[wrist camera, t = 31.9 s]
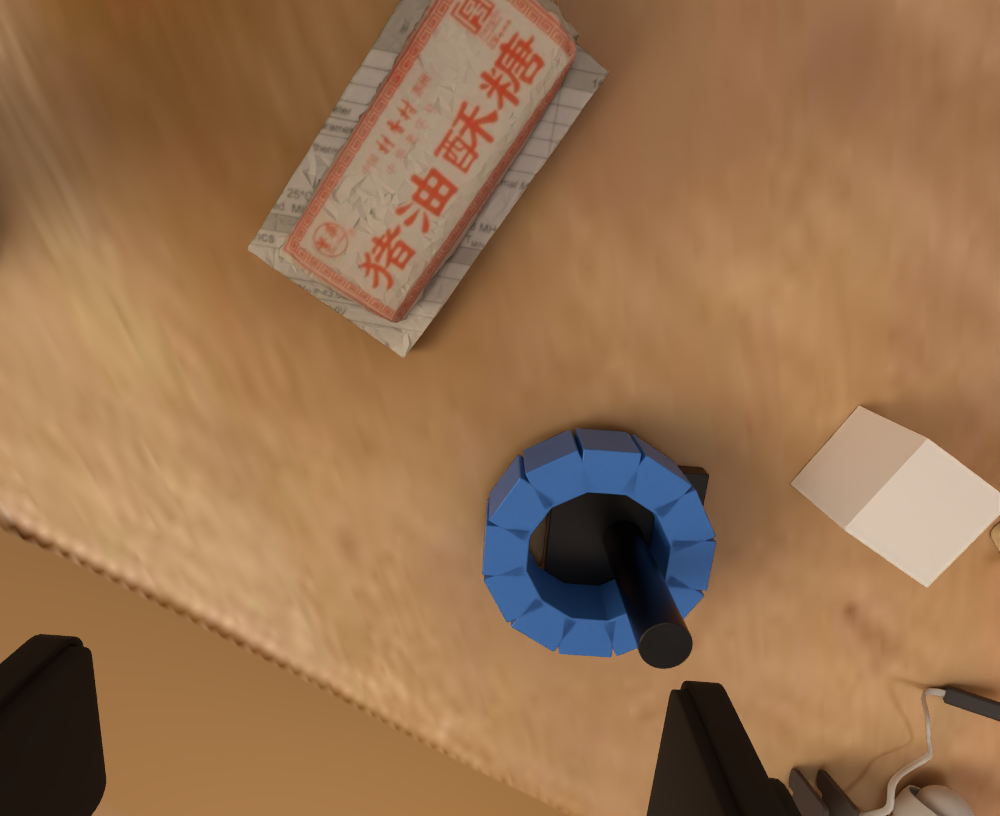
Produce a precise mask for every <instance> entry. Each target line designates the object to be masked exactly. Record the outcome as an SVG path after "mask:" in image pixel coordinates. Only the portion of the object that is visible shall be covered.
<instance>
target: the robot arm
mask: <svg viewBox="0 0 1000 816" xmlns="http://www.w3.org/2000/svg"><path fill="white" fill-rule="evenodd" d="M105 786H106V773H105V764H104V756H103V747H102V738H101V730H100V722H99V712H98V705H97V695H96V687H95V678H94V670H93V661H92V654H91V651H90V650H89V649H88V648H86V647H84V646H83V643H82V641H81V640H80V639H79V638H78V637H73V636H60V635H45V634H39V635H35V636H33V637H32V638H30V639H29V640H28V641H27V642H25V643H24V644H23V645H22V646H21V647H19V648H18V649H17V650H16V651H15V652H14V653H12V654H11V655H10V656H9V657H8V658H7V659H5V660H4V661H3V662H2V663H1V664H0V816H91V815H92V814H93V812H94V811H95V810H96V808H97V806H98V805H99V803H100V801H101V799H102V797H103V793H104V790H105ZM647 816H802V815H801V813H800V811H799V810H798V808H797V806H796V804H795V802H794V800H793V798H792V796H791V794H790V793H789V791H788V790H787V788H786V786H785V785H784V784H783V783H782V782H781V781H780V780H778V779H775V778H768V776H767V774H766V772H765V770H764V768H763V766H762V764H761V762H760V760H759V757H758V755H757V753H756V751H755V749H754V747H753V745H752V743H751V741H750V739H749V737H748V735H747V733H746V731H745V729H744V727H743V725H742V723H741V721H740V719H739V717H738V715H737V713H736V711H735V709H734V707H733V705H732V703H731V701H730V699H729V697H728V695H727V693H726V691H725V689H724V687H723V686H722V685H721V684H719V683H710V682H697V681H684V682H683V684H682V686H681V689H680V690H672V691H671V693H670V696H669V702H668V707H667V712H666V717H665V722H664V728H663V733H662V738H661V743H660V749H659V754H658V759H657V764H656V770H655V775H654V780H653V785H652V790H651V796H650V801H649V806H648V811H647Z"/></svg>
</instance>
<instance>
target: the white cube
mask: <svg viewBox="0 0 1000 816" xmlns="http://www.w3.org/2000/svg"><path fill="white" fill-rule="evenodd" d="M790 484H791V485H792V486H793V487H794V488H796V489H797V490H798V491H799V492H800V493H801V494H803V495H804V496H805V497H806V498H807V499H808V500H810V501H811V502H812V503H813V504H814V505H815V506H817V507H818V508H819V509H820V510H821V511H822V512H824V513H825V514H826V515H827V516H828V517H830V518H831V519H832V520H833V521H834V522H835V523H837V524H838V525H839V526H840V527H841V528H842V529H844V530H845V531H846V532H848V533H849V534H851V535H852V536H854V537H855V538H856V539H858V540H859V541H861V542H862V543H864V544H865V545H866V546H868V547H869V548H871V549H872V550H874V551H875V552H876V553H878V554H879V555H881V556H882V557H884V558H885V559H886V560H888V561H889V562H891V563H892V564H894V565H895V566H896V567H898V568H899V569H901V570H902V571H904V572H905V573H906V574H908V575H909V576H911V577H912V578H914V579H915V580H916V581H918V582H919V583H921V584H922V585H924V586H925V587H926V588H927V587H928V586H929V585H930V584H931V583H932V582H933V581H934V580H935V579H936V578H937V577H938V576H939V575H940V574H941V573H942V572H943V571H944V570H945V569H946V568H947V567H948V566H949V565H950V564H951V563H952V562H953V561H954V560H955V559H956V558H957V557H958V556H959V555H960V554H961V553H962V552H963V551H964V550H965V549H966V548H967V547H968V546H969V545H970V544H971V543H972V542H973V541H974V540H975V539H976V538H977V537H978V536H979V535H980V534H981V533H982V532H983V531H984V530H985V529H986V528H987V527H988V526H989V525H990V524H991V523H992V522H993V521H994V520H995V519H996V518H997V517H998V516H999V515H1000V492H999V491H997V490H996V489H995V488H993V487H992V486H991V485H989V484H988V483H987V482H985V481H984V480H983V479H981V478H980V477H979V476H977V475H976V474H975V473H973V472H972V471H971V470H969V469H968V468H967V467H965V466H964V465H963V464H961V463H960V462H959V461H958V460H956V459H955V458H954V457H952V456H951V455H950V454H948V453H947V452H946V451H944V450H943V449H942V448H940V447H939V446H938V445H936V444H935V443H934V442H932V441H931V440H930V439H928V438H926V437H924V436H922V435H920V434H918V433H916V432H914V431H911V430H909V429H907V428H905V427H903V426H901V425H899V424H897V423H895V422H892V421H890V420H888V419H886V418H884V417H882V416H880V415H878V414H876V413H873V412H871V411H869V410H867V409H865V408H863V407H861V406H858V407H857V408H856V410H855V411H854V412H853V413H852V414H851V415H850V416H849V418H848V419H847V420H846V421H845V422H844V423H843V424H842V425H841V427H840V428H839V429H838V430H837V431H836V432H835V433H834V435H833V436H832V437H831V438H830V439H829V440H828V441H827V442H826V444H825V445H824V446H823V447H822V448H821V449H820V450H819V452H818V453H817V454H816V455H815V456H814V457H813V458H812V459H811V461H810V462H809V463H808V464H807V465H806V466H805V467H804V469H803V470H802V471H801V472H800V473H799V474H798V475H797V476H796V478H795V479H794V480H793V481H792V482H791V483H790Z"/></svg>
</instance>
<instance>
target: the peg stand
mask: <svg viewBox="0 0 1000 816" xmlns="http://www.w3.org/2000/svg"><path fill="white" fill-rule="evenodd" d="M678 467H679V469H680V470H681V471H682V472H683V474H684V475H685V476H686V478H687V479H688V480H689V482H690V483H691V484H692V486H693V487H694V488H695V489H696V491H697V493H698V496H699V498H700V500H701V503H702V505H704V499H705V494H706V489H707V484H708V478H709V474H708V473H707V472H706V471H705V470H704V469H703V468H699V467H687V466H678ZM654 519H655V517H654V515H653V512H651V511H650V510H648V509H647V508H645V507H644V506H642V505H641V504H639V503H638V502H636V501H634V500H633V499H631V498H630V497H628V496H627V495H619V494H605V493H591V492H587V493H584V494H582V495H580V496H578V497H575V498H573V499H571V500H568V501H566V502H564V503H561V504H559V505H557V506H555V507H552V508H551V510H550V511H549V512H548V518H547V527H546V535H545V544H544V553H543V562H542V569H543V570H544V571H546V572H547V573H549V574H551V575H552V576H554V577H555V578H557V579H559V580H560V581H562V582H564V583H567V584H582V585H596V586H600V585H602V584H604V583H607V582H609V581H612V580H614V579H615V581H616V584H617V587H618V590H619V593H620V596H621V599H622V602H623V605H624V608H625V611H626V614H627V617H628V620H629V623H630V626H631V629H632V632H633V635H634V638H635V641H636V644H637V647H638V650H639V653H640V656H641V657H642V659H643V660H644V661H645V662H646V663H648V664H649V665H651V666H653V667H656V668H661V669H666V668H672V667H675V666H677V665H679V664H681V663H682V662H684V661H685V660H686V659H687V658H688V656H689V655H690V653H691V650H692V645H693V643H692V637H691V635H690V633H689V631H688V628H687V626H686V624H685V622H684V620H683V618H682V616H681V614H680V612H679V609H678V607H677V605H676V603H675V601H674V599H673V597H672V595H671V593H670V591H669V588H668V586H667V584H666V582H665V580H664V578H663V576H662V574H661V572H660V569H659V567H658V565H657V563H656V561H655V559H654V557H653V555H652V553H651V550H650V545H651V538H652V532H653V526H654Z"/></svg>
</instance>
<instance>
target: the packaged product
mask: <svg viewBox="0 0 1000 816" xmlns="http://www.w3.org/2000/svg"><path fill="white" fill-rule="evenodd" d="M578 36H579V34H578V32H577V31H576V29H575V28H574V26H572V25H571V24H569V23H568V22H567V21H565V20H564V18H563V17H562V15H561V13H560V10H559V8H558V6H557V5H556V4H555V3H553V2H552V1H550V0H401V1H400V3H399V4H398V6H397V8H396V9H395V11H394V13H393V14H392V16H391V17H390V19H389V21H388V22H387V24H386V25H385V27H384V29H383V30H382V32H381V34H380V36H379V37H378V39H377V40H376V42H375V43H374V45H373V46H372V48H371V50H370V52H369V53H368V55H367V56H366V58H365V60H364V61H363V63H362V65H361V66H360V68H359V69H358V71H357V72H356V73H355V75H354V76H353V78H352V79H351V81H350V83H349V84H348V86H347V88H346V89H345V91H344V93H343V95H342V97H341V99H340V100H339V102H338V103H337V104H336V106H335V108H334V109H333V111H332V112H331V114H330V116H329V118H328V120H327V121H326V123H325V124H324V126H323V128H322V129H321V131H320V133H319V134H318V136H317V137H316V139H315V140H314V142H313V144H312V145H311V147H310V149H309V151H308V153H307V155H306V156H305V158H304V159H303V160H302V162H301V163H300V165H299V166H298V168H297V169H296V171H295V173H294V174H293V176H292V177H291V179H290V181H289V182H288V184H287V185H286V187H285V189H284V191H283V192H282V194H281V196H280V197H279V199H278V200H277V202H276V203H275V205H274V207H273V208H272V210H271V212H270V213H269V215H268V216H267V218H266V219H265V221H264V223H263V225H262V227H261V229H260V230H259V232H258V233H257V235H256V237H255V238H254V239H253V241H252V242H251V244H250V245H249V247H248V250H249V251H250V252H252V253H253V254H255V255H256V256H258V257H259V258H260V259H262V260H263V261H264V262H266V263H267V264H268V265H270V266H271V267H272V268H274V269H276V270H277V271H279V272H280V273H282V274H284V275H285V276H286V277H288V278H289V279H290V280H291V281H293V282H294V283H296V284H297V285H299V286H300V287H302V288H303V289H304V290H306V291H307V292H309V293H310V294H312V295H313V296H315V297H316V298H318V299H319V300H320V301H322V302H323V303H325V304H326V305H328V306H329V307H331V308H332V309H334V310H335V311H336V312H338V313H339V314H341V315H342V316H344V317H345V318H347V319H348V320H350V321H351V322H352V323H354V324H355V325H357V326H358V327H359V328H361V329H362V330H363V331H365V332H366V333H368V334H369V335H371V336H372V337H374V338H375V339H377V340H378V341H380V342H381V343H382V344H384V345H385V346H387V347H389V348H390V349H392V350H393V351H394V352H396V353H397V354H399V355H400V356H401V357H403V358H404V357H405V356H406V355H407V353H408V352H409V351H410V349H411V348H412V347H413V345H414V344H415V343H416V341H417V340H418V339H419V337H420V336H421V335H422V333H423V332H424V331H425V329H426V328H427V327H428V325H429V324H430V323H431V321H432V320H433V319H434V317H435V316H436V315H437V313H438V312H439V311H440V309H441V308H442V307H443V305H444V304H445V303H446V301H447V300H448V299H449V297H450V296H451V294H452V293H453V291H454V290H455V288H456V287H457V285H458V284H459V282H460V281H461V279H462V278H463V277H464V275H465V274H466V272H467V271H468V269H469V268H470V266H471V265H472V264H473V262H474V261H475V259H476V258H477V256H478V255H479V253H480V252H481V251H482V249H483V248H484V246H485V245H486V243H487V242H488V240H489V239H490V238H491V236H492V235H493V233H494V232H495V231H496V230H497V229H498V227H499V226H500V225H501V223H502V222H503V220H504V219H505V218H506V216H507V215H508V213H509V212H510V211H511V209H512V208H513V207H514V205H515V204H516V202H517V201H518V200H519V198H520V197H521V196H522V194H523V193H524V191H525V189H526V188H527V186H528V185H529V183H530V182H531V180H532V179H533V177H534V176H535V174H536V173H537V172H538V171H539V170H540V169H541V168H542V167H543V165H544V164H545V162H546V161H547V160H548V158H549V157H550V155H551V154H552V153H553V151H554V150H555V148H556V147H557V145H558V144H559V143H560V141H561V140H562V138H563V137H564V136H565V134H566V133H567V131H568V130H569V128H570V127H571V125H572V124H573V122H574V121H575V119H576V118H577V116H578V115H579V113H580V112H581V110H582V109H583V107H584V106H585V104H586V103H587V101H588V100H589V99H590V98H591V96H592V95H593V94H594V92H595V91H596V90H597V88H598V87H599V86H600V85H601V83H602V82H603V81H604V79H605V78H606V77H607V75H608V74H609V72H608V71H607V70H606V69H604V68H603V67H602V66H601V65H600V64H599V63H598V62H596V61H595V60H594V59H593V58H592V57H591V56H590V55H589V54H588V53H587V52H585V51H584V50H583V49H582V48H581V47H580V46H579V45H577V44H576V43H575V41H576V39H577V37H578Z"/></svg>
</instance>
